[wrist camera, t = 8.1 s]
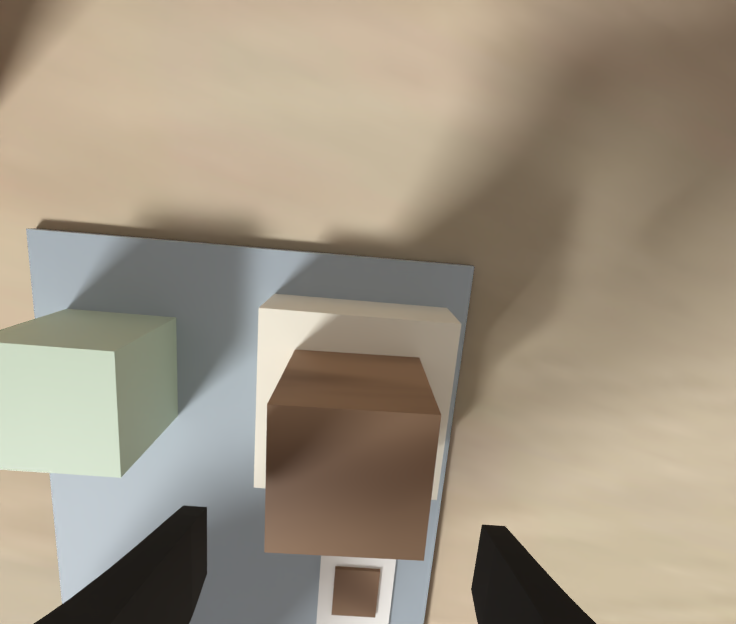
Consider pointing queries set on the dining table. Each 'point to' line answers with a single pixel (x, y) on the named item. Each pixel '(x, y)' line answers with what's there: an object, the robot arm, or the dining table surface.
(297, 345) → the cream base block
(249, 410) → the board
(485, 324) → the dining table surface
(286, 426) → the walnut block
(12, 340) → the sage block
